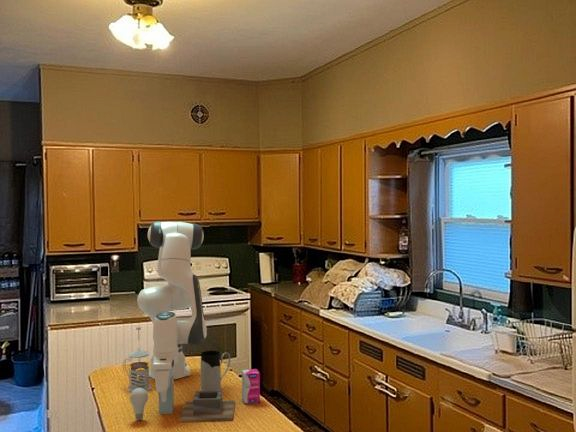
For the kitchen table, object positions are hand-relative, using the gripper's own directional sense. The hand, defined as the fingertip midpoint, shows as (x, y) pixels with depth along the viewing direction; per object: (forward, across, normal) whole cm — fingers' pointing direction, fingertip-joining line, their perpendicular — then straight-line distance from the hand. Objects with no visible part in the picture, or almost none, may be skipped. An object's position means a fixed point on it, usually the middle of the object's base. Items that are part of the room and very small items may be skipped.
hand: (166, 397), depth 208 cm
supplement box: (+5, -8, +30) cm, 32 cm away
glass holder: (+5, -24, +16) cm, 29 cm away
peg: (+5, 0, 0) cm, 5 cm away
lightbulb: (+5, +8, -8) cm, 12 cm away
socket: (+5, +2, +15) cm, 16 cm away
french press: (+5, -28, -16) cm, 33 cm away
